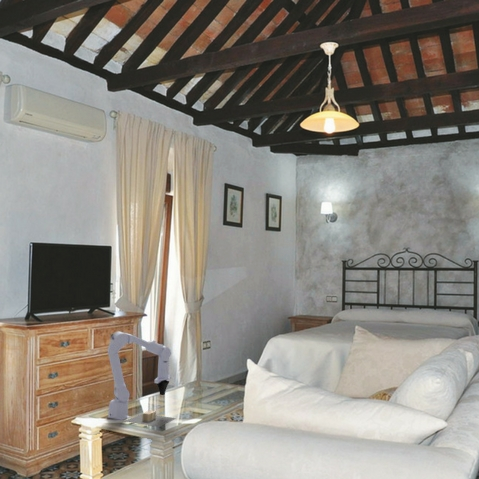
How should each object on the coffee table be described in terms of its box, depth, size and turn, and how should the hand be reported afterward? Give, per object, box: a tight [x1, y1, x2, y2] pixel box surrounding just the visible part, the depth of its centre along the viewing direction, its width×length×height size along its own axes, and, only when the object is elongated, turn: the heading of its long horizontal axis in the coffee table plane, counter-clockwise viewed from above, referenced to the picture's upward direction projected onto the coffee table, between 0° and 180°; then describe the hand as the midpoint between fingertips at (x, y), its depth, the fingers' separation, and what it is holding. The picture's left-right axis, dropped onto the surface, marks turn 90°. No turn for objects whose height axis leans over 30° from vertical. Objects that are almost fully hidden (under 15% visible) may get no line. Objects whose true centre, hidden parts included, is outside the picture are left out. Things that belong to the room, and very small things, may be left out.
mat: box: [124, 412, 177, 428], centre depth 290 cm, size 20×18×1 cm
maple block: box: [142, 409, 157, 422], centre depth 291 cm, size 4×4×7 cm
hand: (162, 394), depth 303 cm, fingers closed
